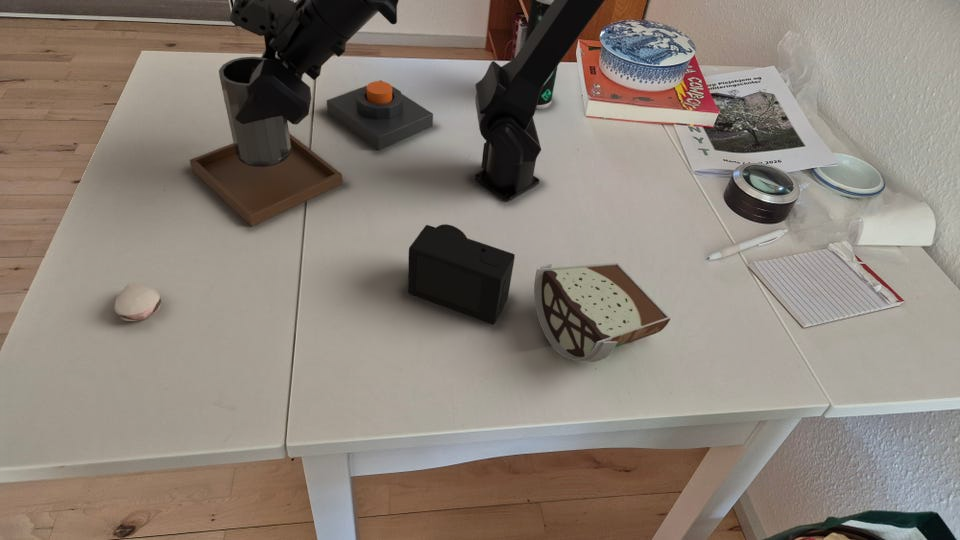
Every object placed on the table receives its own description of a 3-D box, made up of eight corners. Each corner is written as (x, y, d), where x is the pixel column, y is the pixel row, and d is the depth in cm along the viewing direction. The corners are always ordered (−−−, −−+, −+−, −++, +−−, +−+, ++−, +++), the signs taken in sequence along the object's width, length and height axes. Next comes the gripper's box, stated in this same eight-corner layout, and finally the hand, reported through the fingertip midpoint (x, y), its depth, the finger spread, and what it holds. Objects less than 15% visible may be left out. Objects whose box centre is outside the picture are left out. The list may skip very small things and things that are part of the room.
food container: (593, 296, 78) (521, 310, 73) (609, 254, 74) (534, 266, 70) (658, 371, 70) (581, 391, 65) (680, 328, 66) (600, 346, 62)
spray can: (513, 91, 107) (531, -37, 93) (546, 90, 108) (568, -37, 94) (521, 109, 103) (540, -22, 89) (555, 108, 104) (579, -21, 90)
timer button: (397, 99, 96) (397, 88, 94) (377, 107, 94) (377, 96, 92) (381, 89, 97) (381, 78, 96) (361, 97, 95) (361, 86, 94)
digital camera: (512, 292, 75) (520, 246, 70) (495, 325, 71) (502, 279, 67) (429, 263, 77) (431, 216, 72) (408, 293, 74) (408, 247, 69)
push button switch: (432, 126, 98) (433, 102, 95) (379, 150, 92) (378, 125, 90) (381, 92, 103) (380, 69, 101) (327, 113, 98) (325, 89, 95)
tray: (342, 184, 86) (342, 173, 85) (251, 226, 79) (249, 215, 78) (281, 135, 93) (279, 125, 92) (191, 170, 86) (189, 159, 85)
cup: (294, 163, 82) (283, 82, 74) (238, 170, 80) (220, 87, 72) (287, 134, 86) (276, 54, 79) (234, 139, 84) (217, 59, 77)
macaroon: (124, 332, 67) (117, 315, 65) (110, 300, 69) (102, 283, 68) (168, 315, 69) (162, 298, 67) (153, 285, 71) (146, 268, 70)
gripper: (281, -73, 74) (199, 20, 80) (256, -3, 61) (160, 102, 67) (357, 1, 80) (275, 81, 87) (349, 78, 67) (253, 167, 74)
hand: (243, 104), depth 78 cm, fingers closed on cup, 7 cm apart
